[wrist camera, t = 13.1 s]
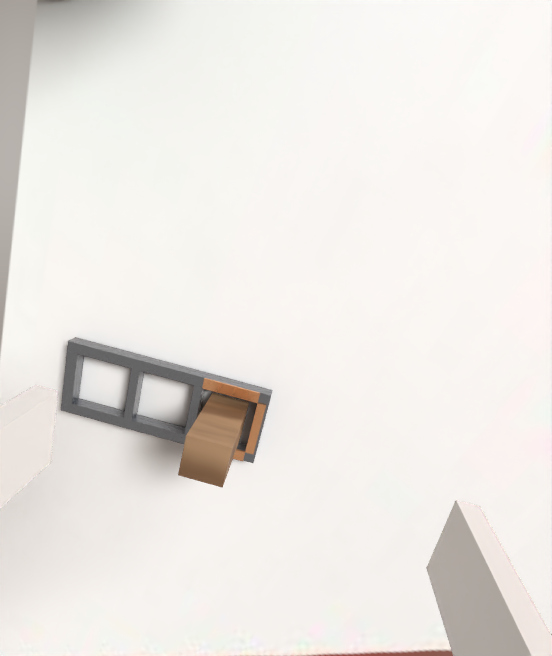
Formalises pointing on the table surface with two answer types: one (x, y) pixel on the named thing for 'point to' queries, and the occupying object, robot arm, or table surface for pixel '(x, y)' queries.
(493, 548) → the robot arm
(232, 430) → the walnut block
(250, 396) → the rack
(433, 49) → the table surface
